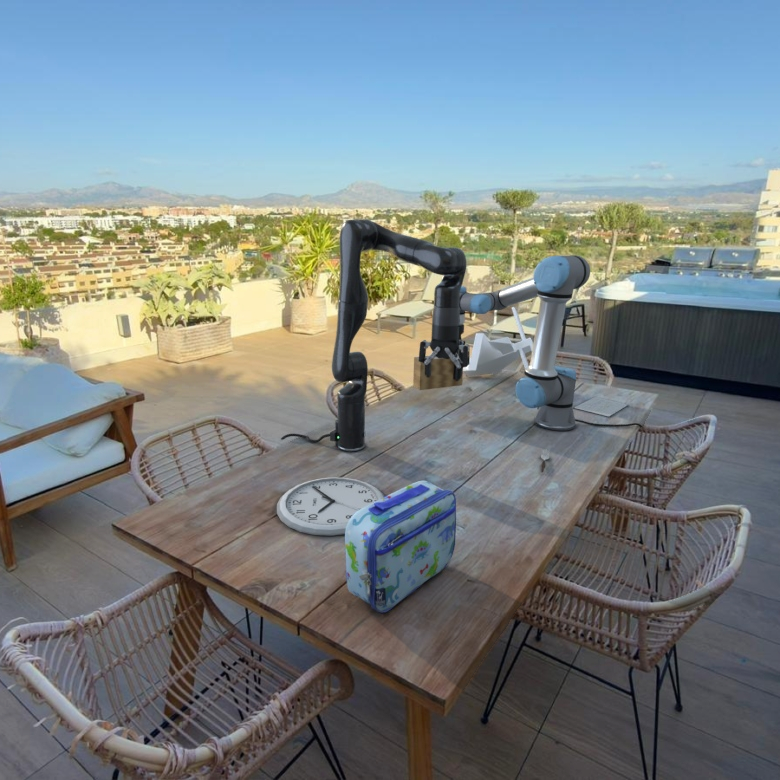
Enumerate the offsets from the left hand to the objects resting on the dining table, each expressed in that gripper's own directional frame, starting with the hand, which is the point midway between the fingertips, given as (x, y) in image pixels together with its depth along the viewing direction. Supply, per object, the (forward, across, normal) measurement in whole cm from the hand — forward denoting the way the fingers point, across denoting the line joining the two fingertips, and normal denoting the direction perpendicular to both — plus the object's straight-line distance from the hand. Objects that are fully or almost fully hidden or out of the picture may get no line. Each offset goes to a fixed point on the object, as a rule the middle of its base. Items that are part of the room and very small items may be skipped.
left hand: (442, 378), depth 149 cm
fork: (+32, +29, +24) cm, 49 cm away
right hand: (+20, -16, +73) cm, 77 cm away
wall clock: (+32, -22, -27) cm, 47 cm away
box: (+24, -21, +68) cm, 75 cm away
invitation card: (+32, +45, +94) cm, 109 cm away
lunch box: (+32, +7, -50) cm, 60 cm away
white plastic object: (+32, -2, +111) cm, 116 cm away
